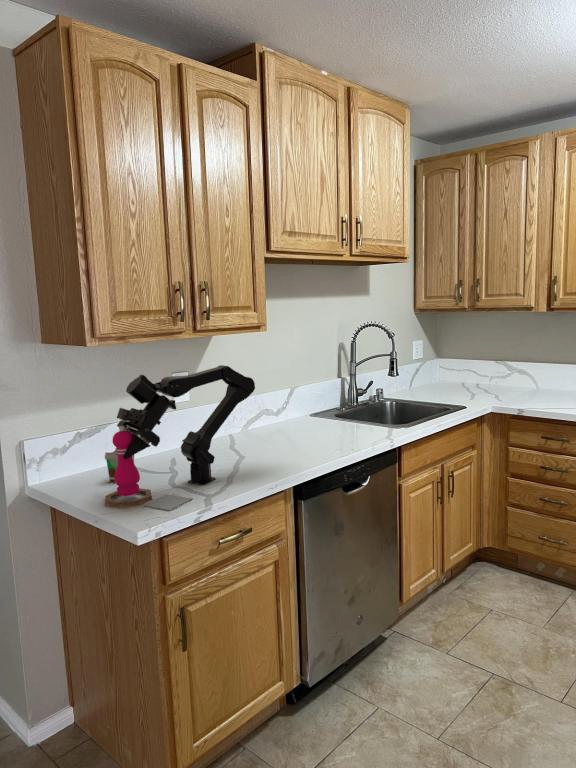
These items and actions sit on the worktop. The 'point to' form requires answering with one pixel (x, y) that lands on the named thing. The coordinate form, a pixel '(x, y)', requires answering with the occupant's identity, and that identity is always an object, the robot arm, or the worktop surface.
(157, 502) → the slate mat
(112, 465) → the food container
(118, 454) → the pepper mill
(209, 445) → the robot arm
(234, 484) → the worktop surface
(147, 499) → the walnut holder ring
